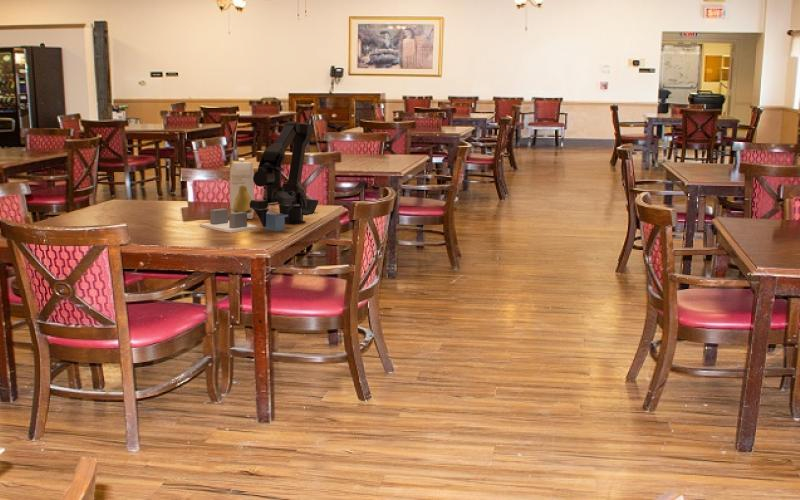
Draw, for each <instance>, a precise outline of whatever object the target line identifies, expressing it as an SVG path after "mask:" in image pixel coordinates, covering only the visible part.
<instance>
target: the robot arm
mask: <svg viewBox="0 0 800 500" xmlns="http://www.w3.org/2000/svg"><path fill="white" fill-rule="evenodd" d="M281 130H282V131H281V132H280V134H279V135H278V137H276V140H275V142H273V144H271V145H269V146H267V147H266V148H265V150H264V151H263V152H262V155H261V158H260V161H259V163H258V166H257V171H256V172H254V176H253V181H254V185H256V186H257V187H258V188H262V187H263V190H265V196H263V199H254V200H251V201H250V208H252V209H253V210H254V212H255V214H256V215H257V217H258V219H259V221H260V223H261V225H262V228H263V227H266V213H267V212H268V211H269V209H268V207H269V206H276V205H278V209H279V213H280V214H286V215H288V217H285V224H291V225H292V224H293V225H297V224H301V223H302V224H303V223H306V222H307V221H306V220H304V215H303V208H306V207H307V200H306V199H307V198H306V197H305V195H304V192H305V191H304V187H303V185H302V183H301V182H302V177H303V176H302V174H303V167H304V162H305V155H306V147H307V146H308V145H309V144H310V142H312V137H313V134H314V127H313V126H312V124H310V123H308V122H297V121H288V122H285V123H284V127H283V128H282V129H281ZM291 143H293V144H292V146H293V147H292V152H291V158H290V164H289V165H290V166H289V172H288V177H287V178H288V179H287V181H286V182H283V183H282V171H284V168H283V164H284V162H285V160H286V157H287V156H286V151H287V149H288V147H289V146H290V144H291ZM299 204H300V205H299Z"/></svg>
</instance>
